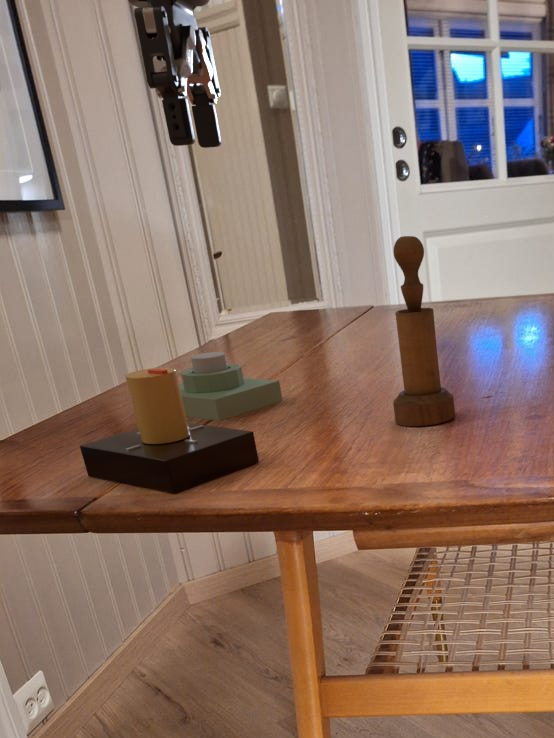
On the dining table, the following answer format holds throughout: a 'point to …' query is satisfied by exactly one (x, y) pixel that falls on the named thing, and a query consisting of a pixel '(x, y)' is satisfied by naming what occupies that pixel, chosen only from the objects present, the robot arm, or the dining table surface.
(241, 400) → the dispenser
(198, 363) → the grey push button
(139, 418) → the lock knob
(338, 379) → the dining table surface
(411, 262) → the mortar and pestle
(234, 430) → the panel
